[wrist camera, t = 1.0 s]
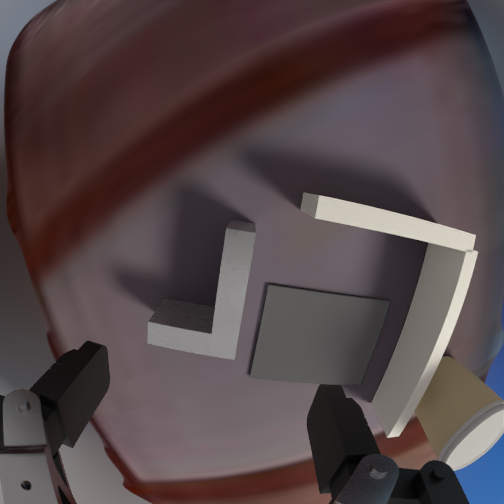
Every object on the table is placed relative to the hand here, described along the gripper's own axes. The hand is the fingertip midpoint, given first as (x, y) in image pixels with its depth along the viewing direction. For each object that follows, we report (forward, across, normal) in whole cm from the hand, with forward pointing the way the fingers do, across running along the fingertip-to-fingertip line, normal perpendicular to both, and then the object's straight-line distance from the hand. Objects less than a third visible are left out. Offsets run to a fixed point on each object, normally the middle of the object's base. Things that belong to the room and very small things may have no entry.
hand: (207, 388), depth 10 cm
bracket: (+16, +2, +1) cm, 16 cm away
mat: (+16, -9, +6) cm, 19 cm away
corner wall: (+16, -12, +3) cm, 20 cm away
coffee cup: (+16, -26, +11) cm, 33 cm away
